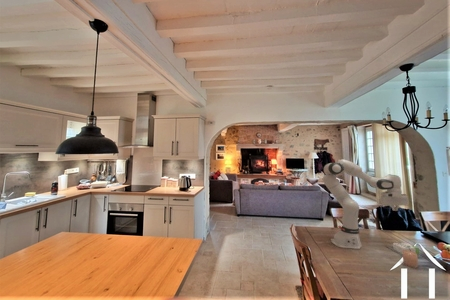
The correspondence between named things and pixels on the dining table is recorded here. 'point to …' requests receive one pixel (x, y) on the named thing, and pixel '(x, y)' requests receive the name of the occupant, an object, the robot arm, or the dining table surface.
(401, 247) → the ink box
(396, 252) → the mat
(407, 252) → the brown rounded lump
